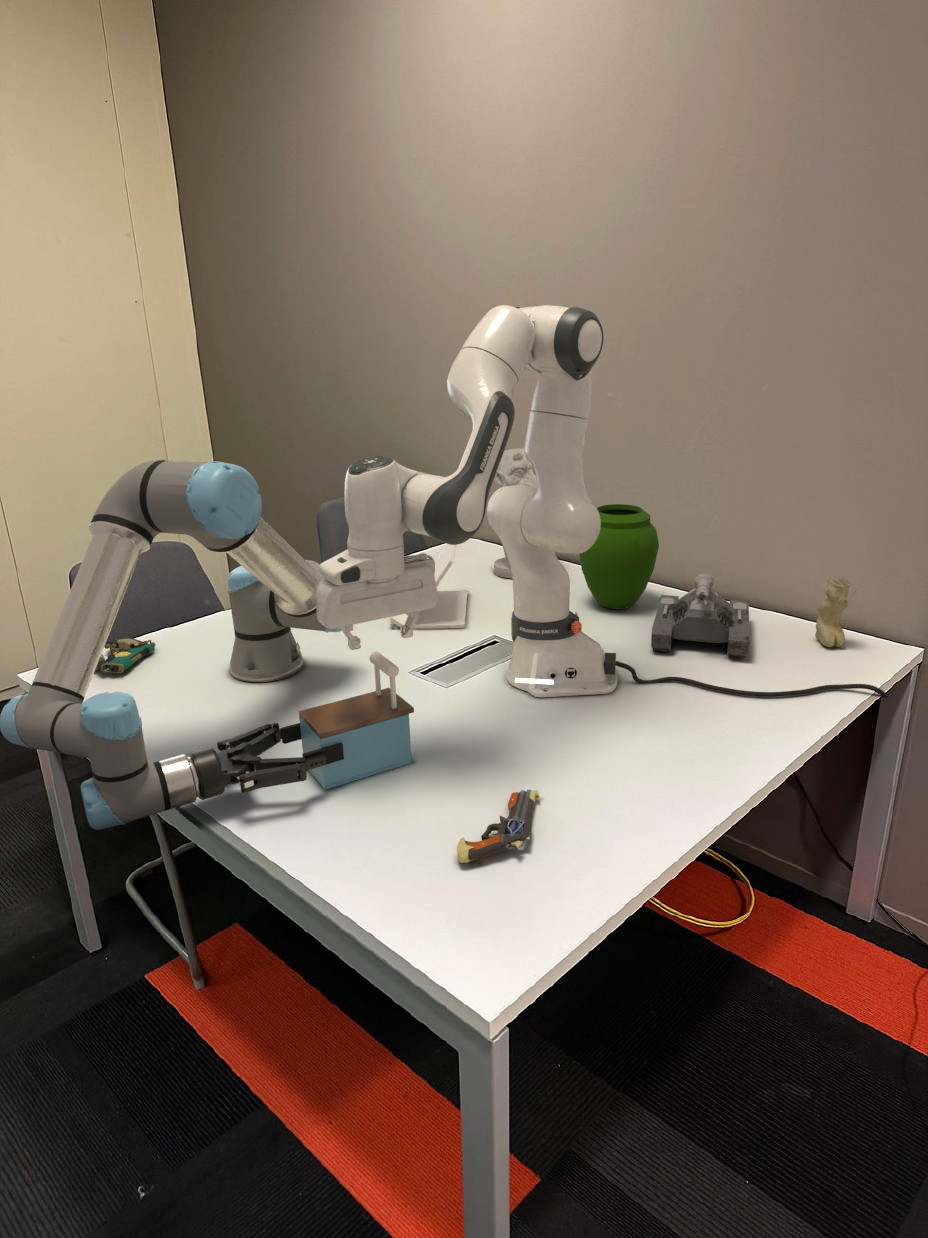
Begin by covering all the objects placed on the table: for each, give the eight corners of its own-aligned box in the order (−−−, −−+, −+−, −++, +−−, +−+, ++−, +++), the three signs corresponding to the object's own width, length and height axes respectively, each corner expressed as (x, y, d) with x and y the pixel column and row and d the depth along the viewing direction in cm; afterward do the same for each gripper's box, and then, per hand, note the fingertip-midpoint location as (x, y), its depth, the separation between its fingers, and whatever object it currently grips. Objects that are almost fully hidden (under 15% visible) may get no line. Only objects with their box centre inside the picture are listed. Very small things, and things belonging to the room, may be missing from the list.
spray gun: (124, 645, 199) (173, 657, 193) (65, 668, 185) (116, 681, 179) (122, 628, 198) (172, 639, 192) (62, 650, 184) (114, 662, 178)
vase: (599, 587, 227) (601, 497, 218) (668, 600, 216) (673, 505, 208) (562, 608, 212) (564, 513, 204) (634, 623, 202) (639, 523, 193)
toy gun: (452, 851, 117) (525, 850, 115) (476, 786, 134) (539, 784, 132) (455, 869, 117) (527, 868, 115) (478, 801, 135) (541, 799, 133)
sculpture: (821, 649, 184) (830, 583, 179) (808, 637, 191) (816, 573, 185) (848, 649, 184) (858, 582, 179) (834, 636, 191) (843, 572, 185)
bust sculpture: (503, 593, 225) (502, 460, 212) (483, 567, 247) (480, 445, 234) (562, 587, 228) (563, 456, 215) (536, 562, 250) (536, 441, 237)
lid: (389, 691, 149) (386, 645, 146) (414, 712, 142) (411, 664, 138) (298, 715, 142) (293, 667, 138) (320, 739, 134) (315, 688, 131)
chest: (387, 740, 152) (384, 693, 149) (411, 763, 144) (409, 714, 141) (304, 764, 145) (298, 716, 142) (325, 790, 137) (320, 739, 134)
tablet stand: (467, 593, 225) (465, 531, 219) (465, 628, 202) (462, 559, 196) (399, 594, 226) (395, 532, 220) (388, 629, 203) (384, 560, 197)
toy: (659, 614, 207) (663, 554, 202) (746, 620, 201) (752, 559, 196) (650, 654, 184) (653, 588, 179) (747, 662, 179) (754, 595, 173)
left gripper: (179, 767, 140) (308, 731, 151) (215, 834, 122) (359, 788, 133) (172, 726, 138) (304, 693, 148) (208, 788, 120) (355, 745, 130)
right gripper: (425, 547, 143) (427, 624, 147) (309, 566, 133) (316, 649, 138) (443, 555, 137) (445, 635, 142) (324, 576, 128) (331, 661, 133)
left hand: (330, 738), depth 140 cm, fingers closed on chest, 9 cm apart
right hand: (381, 642), depth 140 cm, fingers open, 8 cm apart
